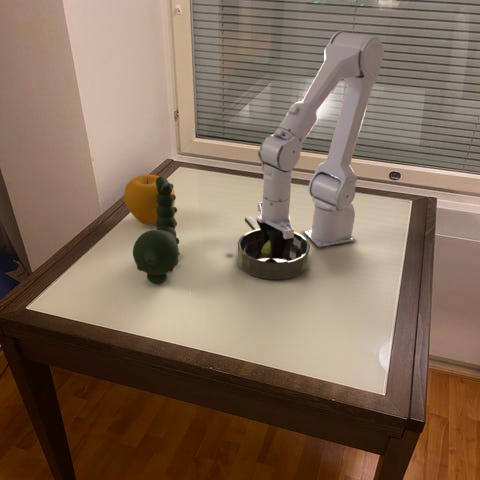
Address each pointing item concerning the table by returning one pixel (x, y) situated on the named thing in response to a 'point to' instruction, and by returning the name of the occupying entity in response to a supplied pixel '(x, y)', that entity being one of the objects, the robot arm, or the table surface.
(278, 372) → the table surface
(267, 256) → the lime
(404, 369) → the table surface
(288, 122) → the robot arm
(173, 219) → the toy figurine
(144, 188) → the apple
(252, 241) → the skillet
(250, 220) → the skillet handle
